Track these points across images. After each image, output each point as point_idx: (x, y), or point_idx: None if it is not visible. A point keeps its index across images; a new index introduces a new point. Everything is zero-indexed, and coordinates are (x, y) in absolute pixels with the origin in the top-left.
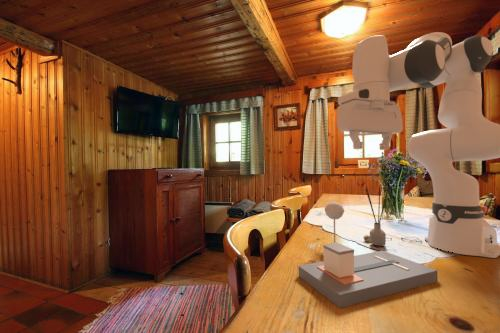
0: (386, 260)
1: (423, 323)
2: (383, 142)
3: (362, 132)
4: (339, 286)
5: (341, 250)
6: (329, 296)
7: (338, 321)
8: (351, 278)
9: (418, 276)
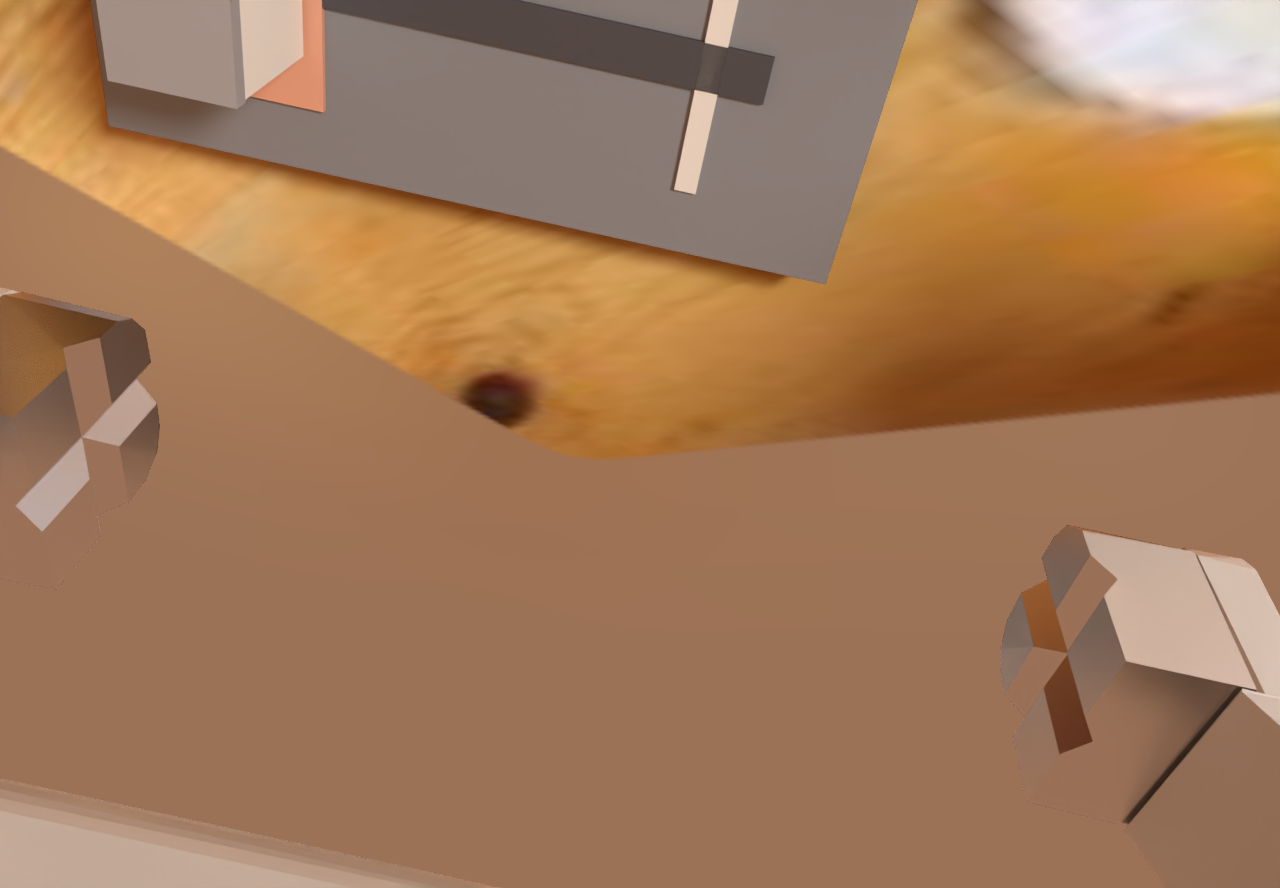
0: (720, 36)
1: (380, 333)
2: (1226, 766)
3: (87, 819)
4: None
5: (143, 69)
6: None
7: (83, 154)
8: None
9: (661, 245)
